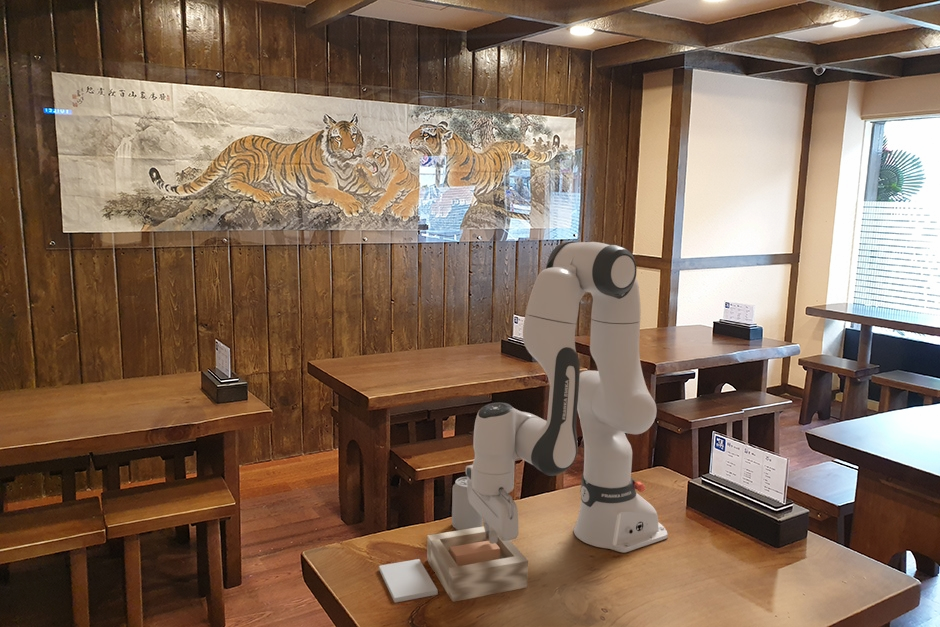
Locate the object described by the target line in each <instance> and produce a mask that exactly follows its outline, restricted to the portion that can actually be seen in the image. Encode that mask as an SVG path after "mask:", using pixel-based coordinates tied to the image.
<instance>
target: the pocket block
mask: <svg viewBox="0 0 940 627" xmlns="http://www.w3.org/2000/svg"><path fill="white" fill-rule="evenodd" d="M426 537H427V538H426V539H427V541H426V542H427V543H426V545H427V546H426V547H427V548H426V551H427V552H426V560H427V563H428V565H429V566H430V568H431V569H432V571H433V573H434V572H435V573H434V574H435V576H436V577H437V579H438V580H439V583H440V584H441V586H442V587H443V589H444V590H445V592H446V594H447V596H448V598H450V600H451V602H452V603H453V602H458V601H459V602H460V601H464V600H470V599H475V598H480V597H484V596H491V595H495V594H500V593H506V592H511V591H514V590H521V589H524V588H528V575H529V574H528V573H529V572H528V570H529V560H528V559H527V558H526V556H525V555H524V554H523V553H522V552H521V550H520V549H519V548H518V547H517V546H516V545H515V544H514V543H513V541H512V540H507V541H502V540H501V539H500V538H499V537H498V541H497V543H496V544H497V545H498V546H499V548H500V559H497V560H491V561H486V562H480V563H475V564H469V565H463V566H458V565H457V564H456V562H455V561H454V560H453V558H452V557H451V555H450V547H453V546H459V545H465V544H471V543H477V542H483V541H488V540H487V538H486V537H485V529H484V525H482V526H481V527H477V528H470V529H464V530H453V531H446V532H440V533H433V534H427V536H426Z"/></svg>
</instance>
